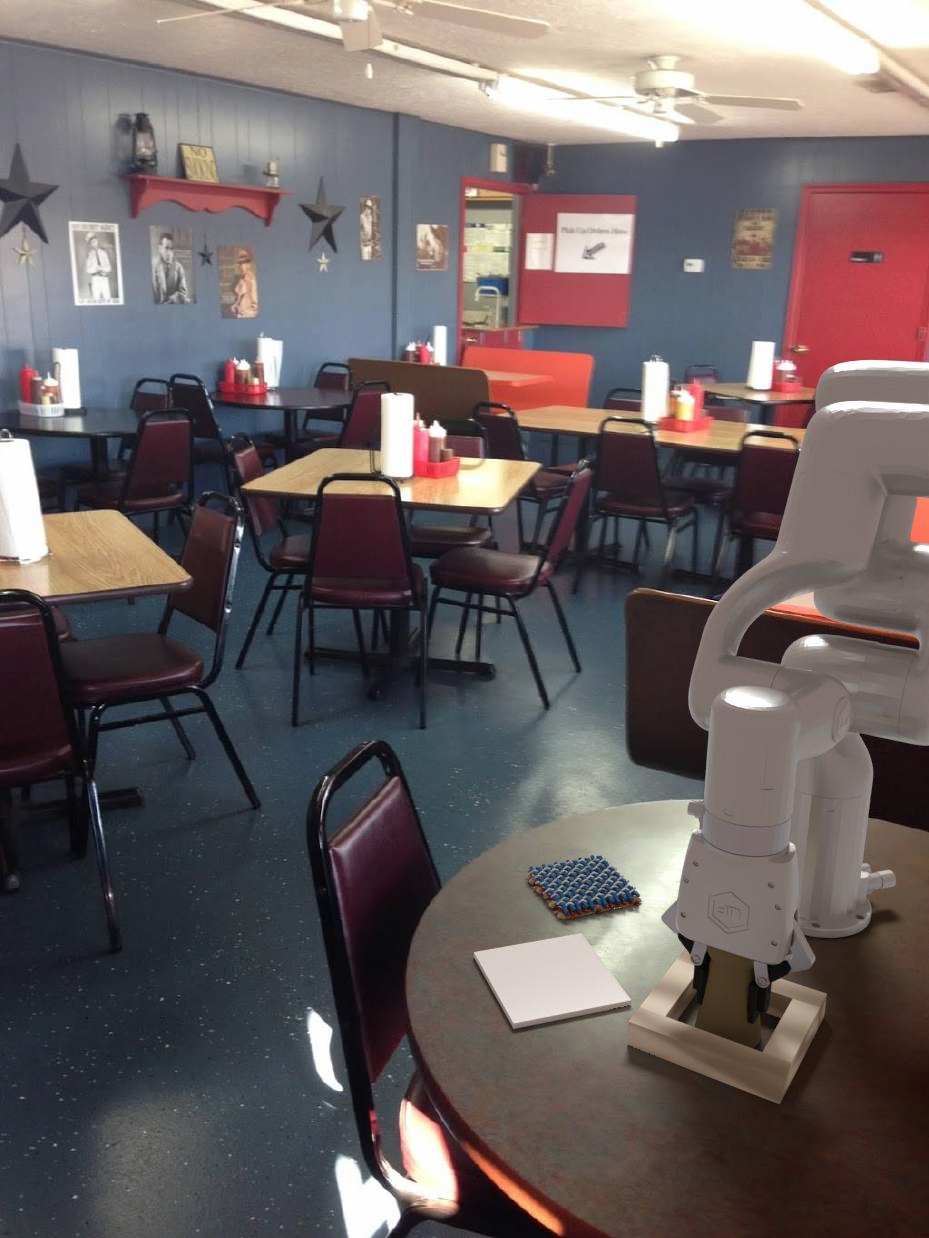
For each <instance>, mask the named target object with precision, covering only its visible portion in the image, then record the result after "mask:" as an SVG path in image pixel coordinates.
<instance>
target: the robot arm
mask: <svg viewBox="0 0 929 1238" xmlns="http://www.w3.org/2000/svg"><path fill="white" fill-rule="evenodd" d="M814 397H815V400H814V401H815V413H814V414H813V416H811V419H810V420H809V422H808V424H807V427H806V429H805V432H804V435H803V439H802V443H801V447H800V451H799V455H798V458H797V463H796V464H795V465H796V467H795V470H794V473H793V477H792V482H791V486H790V489H789V493H788V497H787V501H786V506H785V509H784V513H783V516H782V519H781V523H780V528H779V532H778V536H777V540H776V543H775V546H774V547H773V549H772V551H771V552H770V553H769V554H767V556H766V557H765V558H762V560H760V561H759V562H758V563H756V564H755V565H753V566H752V567H751V568H750V569H748V570H747V571H745V573H743V574H742V575H741V576H740V577H739V578H738V579H737V580H736V581H734V583H733V584H732V585H730V587H729V588H728V589H727V590H726V591H725V593H724V594H723V595H722V596H721V598H720V599H719V600H718V602H717V603H716V604H715V606H714V607H713V609H712V611H711V613H710V614H709V616H708V619H707V620H706V623H705V625H704V628H703V632H702V636H701V639H700V642H699V646H698V650H697V654H696V657H695V660H694V665H693V669H692V673H691V677H690V682H689V688H688V698H687V699H688V709H689V713H690V715H691V717H692V719H693V721H694V722H695V723H696V725H698V726H699V727H700V728H701V729H703V730H705V731H707V732H708V738H707V739H708V740H707V751H706V765H705V766H706V767H705V768H706V769H705V777H704V778H705V779H704V792H703V800H698V801H697V800H692V799H691V800H690V801H689V802H688V805H687V811H686V812H687V815H689V816H693V817H694V818H696V819H698V823H699V826H698V827H697V828H695V829H694V830H693V832H692V833H691V835H690V838H689V840H688V841H689V842H688V844H687V848H686V852H685V857H684V861H683V864H682V865H683V866H682V869H681V875H680V881H679V887H678V893H677V899H676V900H675V901H674V902H673V903H672V904H671V905H669V907H668V908H667V909H665V911H664V913H662V915H661V916H660V917H661V921H662V923H663V924H664V925H666V927H667V928H668V929H669V930H670V931H672V933H673V934H676V935H677V938H678V940H679V942H680V943H681V945H682V946H683V947H684V949H685V948H686V950H687V951H688V952H689V954H690V960H691V962H692V963H693V964H694V976H693V989H696V990H697V993H696V995H695V996H696V999H695V1004H696V1005H698V1006H699V1005H702V1001H703V998H704V994H705V988H706V982H707V976H708V969H709V963H710V959H711V957H710V956H709V954H708V951H707V946H710V947H713V948H716V949H719V950H722V951H726V952H729V953H732V954H734V955H738V956H741V957H744V958H747V959H750V960H753V961H754V971H755V975H754V981H752V982H751V983H750V985H749V991H748V1001H747V1015H748V1022H749V1023H752V1024H754V1023H755V1021H756V1019H757V1018H758V1016H759V1014H760V1015H761V1014H762V1013H763V1014H767V1013H766V1012H767V1010H768V1008H769V1004H770V996H771V986H772V982H774V981H776V980H778V979H780V978H781V979H783V978H784V977H786V976H788V975H789V974H790V973H791V974H792V973H798V972H802V971H806V970H810V969H811V968H812V966H813V965H814V963H815V961H816V956H815V952H814V951H813V950H812V948H811V945H810V944H809V942H808V941H807V939H806V936H808V937H812V938H813V937H814V938H822V939H836V938H844V937H849V936H852V935H856V934H858V933H860V932H861V931H864V930H865V928H867V927H868V925H869V924H870V922H871V918H872V913H873V911H872V905H871V902H870V900H869V899H868V898H867V895H870V894H872V893H873V892H874V890H882V889H888V888H889V889H890V888H892V887H895V886H896V885H897V878H896V875H895V873H894V872H893V871H892V870H891V869H884V870H879V871H875V872H872V868H871V865H870V864H869V863H867V862H864V863H863V860H864V853H865V846H866V845H865V843H866V838H867V836H866V835H867V829H868V819H869V814H870V813H869V812H870V811H869V810H870V806H871V805H870V804H871V795H872V788H873V781H874V780H873V779H874V767H873V763H872V758H871V755H870V752H869V750H868V748H867V746H866V745H865V742H864V741H863V739H862V737H861V736H860V734H864V735H868V736H873V737H877V738H882V739H888V740H892V741H895V742H902V743H907V744H911V745H917V746H929V543H928V542H919V541H912V537H911V536H912V531H913V530H912V529H913V526H914V525H913V524H914V519H915V515H916V510H917V506H918V498H922V499H923V498H924V499H929V362H927V361H906V360H905V361H904V360H888V359H887V360H883V359H881V360H880V359H879V360H878V359H877V360H876V359H875V360H874V359H868V360H867V359H865V360H864V359H863V360H853V361H846V362H841V363H837V364H835V365H832V366H831V367H828V368H827V369H826V370H825V371H824V372H823V373H822V374H821V375H820V377H819V379H818V383H817V385H816V389H815V396H814ZM811 593H813V602H814V607H815V609H816V610H817V611H818V614H820V615H822V616H823V617H824V618H826V619H829V620H830V621H833V622H836V623H842V624H847V625H851V626H855V627H860V628H861V627H862V628H866V629H871V630H872V629H873V630H877V631H878V630H879V631H884V632H891V633H898V634H901V635H903V634H904V635H909V636H912V637H914V638H916V639H917V640H918V643H919V649H918V648H917V649H916V648H910V647H906V646H899V645H893V644H892V645H891V644H887V643H881V642H878V641H874V640H873V641H872V640H866V639H861V638H855V637H854V638H853V637H850V636H844V635H835V634H834V635H833V634H827V633H826V634H818V633H817V634H810V635H806V636H805V635H804V636H802V637H799V638H798V639H797V640H795V641H793V642H792V643H791V644H790V645H789V646H788V647H787V649H786V650H785V652H784V654H783V656H782V659H781V662H780V663H776V662H770V661H766V660H760V659H755V658H748V657H744V656H737V655H738V654H737V653H738V650H739V647H740V643H741V642H742V639H743V637H744V635H745V633H746V631H748V628H749V627H750V625H752V623H753V622H754V621H756V619H757V618H759V617H760V616H761V615H762V614H764V613H765V612H767V611H768V610H769V609H771V608H774V607H775V606H777V605H780V604H781V603H783V602H785V601H788V600H791V599H793V598H796V597H800V596H803V595H807V594H811ZM789 950H790V951H791V953H790V954H788V953H789Z"/></svg>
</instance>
